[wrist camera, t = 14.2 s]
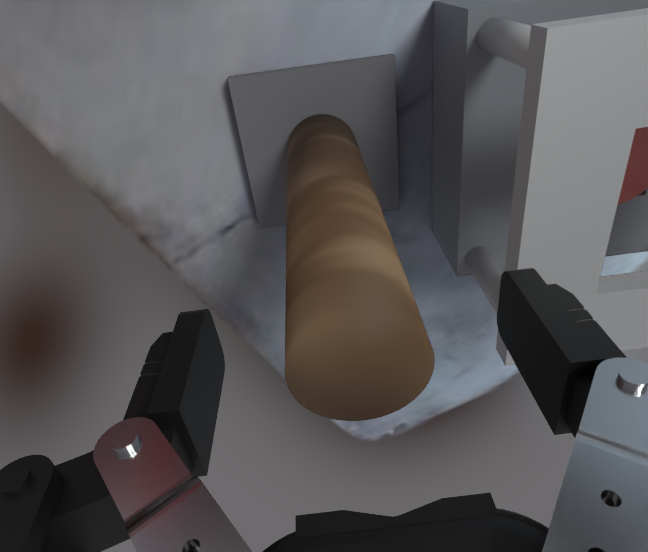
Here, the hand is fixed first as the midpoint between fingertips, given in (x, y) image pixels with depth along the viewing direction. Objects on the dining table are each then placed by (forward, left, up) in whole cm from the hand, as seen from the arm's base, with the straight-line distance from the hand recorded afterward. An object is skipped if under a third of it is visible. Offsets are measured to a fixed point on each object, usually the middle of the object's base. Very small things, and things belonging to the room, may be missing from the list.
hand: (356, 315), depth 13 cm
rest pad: (0, 0, -15) cm, 15 cm away
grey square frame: (-12, 0, -15) cm, 19 cm away
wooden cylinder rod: (0, 0, -14) cm, 14 cm away
